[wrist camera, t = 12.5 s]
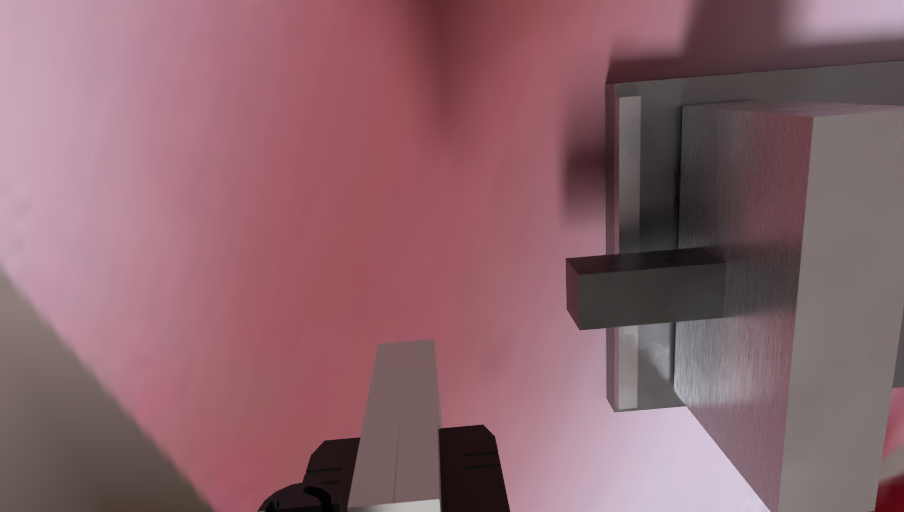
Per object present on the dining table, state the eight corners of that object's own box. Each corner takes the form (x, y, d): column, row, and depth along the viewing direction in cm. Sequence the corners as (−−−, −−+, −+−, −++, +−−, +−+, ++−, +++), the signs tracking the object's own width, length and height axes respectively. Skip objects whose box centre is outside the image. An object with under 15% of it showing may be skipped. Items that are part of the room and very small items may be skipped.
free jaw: (550, 116, 22) (614, 132, 15) (761, 99, 23) (932, 107, 15) (558, 400, 26) (614, 534, 18) (742, 384, 26) (874, 511, 18)
